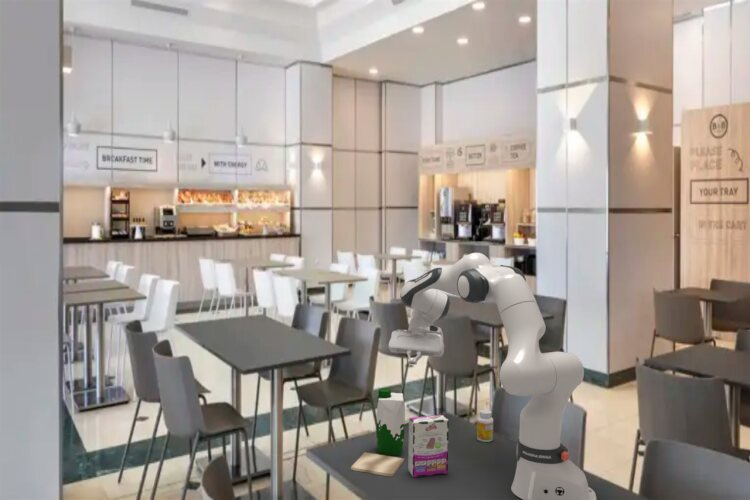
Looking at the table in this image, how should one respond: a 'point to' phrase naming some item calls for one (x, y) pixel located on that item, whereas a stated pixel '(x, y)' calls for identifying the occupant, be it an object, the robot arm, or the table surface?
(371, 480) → the table surface
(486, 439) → the supplement bottle
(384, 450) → the soya milk
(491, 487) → the table surface
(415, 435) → the candy bar box
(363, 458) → the oak board
